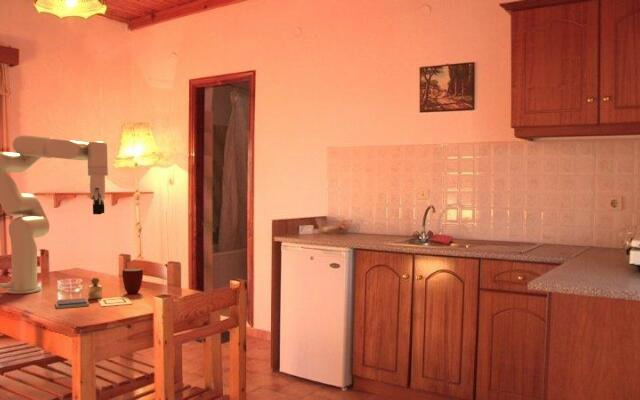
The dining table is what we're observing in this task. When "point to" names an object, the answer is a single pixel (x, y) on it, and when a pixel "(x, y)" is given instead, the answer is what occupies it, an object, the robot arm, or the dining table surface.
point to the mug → (132, 280)
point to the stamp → (95, 290)
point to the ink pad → (71, 303)
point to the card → (114, 301)
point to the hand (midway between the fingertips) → (98, 213)
